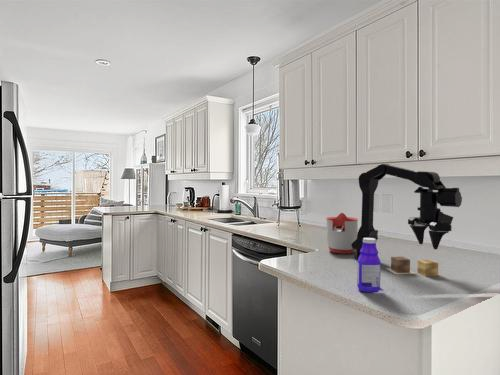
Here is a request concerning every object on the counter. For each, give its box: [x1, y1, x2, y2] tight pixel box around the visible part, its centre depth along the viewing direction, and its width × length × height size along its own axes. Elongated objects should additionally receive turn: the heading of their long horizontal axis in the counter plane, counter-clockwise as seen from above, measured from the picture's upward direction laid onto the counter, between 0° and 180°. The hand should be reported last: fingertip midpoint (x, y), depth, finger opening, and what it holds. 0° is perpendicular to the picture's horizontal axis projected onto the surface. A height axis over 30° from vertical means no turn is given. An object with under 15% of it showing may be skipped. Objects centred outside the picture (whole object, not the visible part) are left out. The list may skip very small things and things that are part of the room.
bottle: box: [356, 238, 382, 293], centre depth 110 cm, size 7×6×17 cm
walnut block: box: [390, 256, 411, 273], centre depth 129 cm, size 5×5×5 cm
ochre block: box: [417, 259, 439, 277], centre depth 125 cm, size 5×5×5 cm
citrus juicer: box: [325, 212, 359, 255], centre depth 166 cm, size 16×17×20 cm
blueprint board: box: [385, 267, 416, 275], centre depth 127 cm, size 16×18×1 cm
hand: (427, 246), depth 124 cm, fingers open, 9 cm apart
